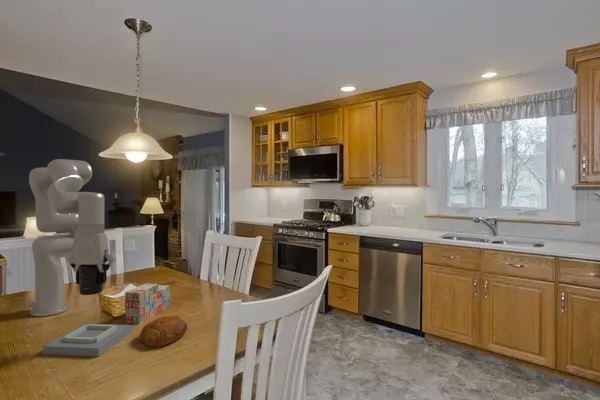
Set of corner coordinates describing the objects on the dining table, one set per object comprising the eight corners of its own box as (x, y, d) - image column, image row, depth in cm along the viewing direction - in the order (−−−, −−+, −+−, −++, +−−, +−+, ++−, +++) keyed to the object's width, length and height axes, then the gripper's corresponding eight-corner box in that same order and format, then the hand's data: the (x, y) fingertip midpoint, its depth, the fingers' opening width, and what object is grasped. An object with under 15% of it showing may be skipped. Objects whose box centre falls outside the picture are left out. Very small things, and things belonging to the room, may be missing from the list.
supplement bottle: (86, 289, 113) (86, 254, 113) (107, 289, 114) (107, 254, 114) (74, 295, 106) (74, 258, 106) (96, 295, 107) (96, 258, 107)
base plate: (42, 354, 102) (42, 342, 102) (84, 330, 120) (84, 320, 120) (98, 356, 100) (98, 344, 100) (132, 332, 118) (132, 321, 118)
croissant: (194, 339, 118) (197, 316, 119) (159, 352, 104) (163, 326, 105) (164, 331, 124) (167, 309, 125) (128, 342, 110) (131, 317, 111)
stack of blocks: (157, 305, 148) (157, 277, 148) (170, 306, 147) (170, 278, 147) (124, 323, 127) (124, 291, 126) (139, 324, 126) (139, 292, 125)
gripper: (57, 230, 107) (57, 285, 107) (109, 231, 106) (109, 287, 106) (74, 228, 114) (74, 279, 114) (123, 229, 113) (123, 281, 113)
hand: (91, 282), depth 110 cm, fingers closed on supplement bottle, 6 cm apart
